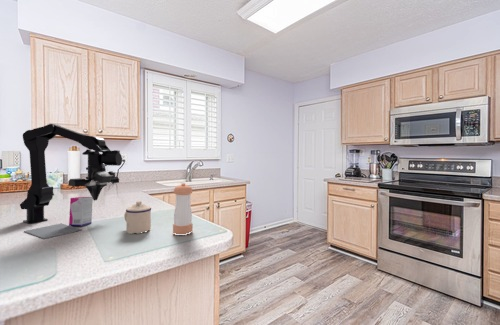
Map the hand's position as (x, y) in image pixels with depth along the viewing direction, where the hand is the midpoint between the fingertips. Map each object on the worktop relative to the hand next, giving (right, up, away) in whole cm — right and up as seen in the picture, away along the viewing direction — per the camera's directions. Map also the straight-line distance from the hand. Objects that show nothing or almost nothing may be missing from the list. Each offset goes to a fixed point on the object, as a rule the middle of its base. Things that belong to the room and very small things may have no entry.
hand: (95, 200), depth 105 cm
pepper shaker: (+43, -11, -13) cm, 46 cm away
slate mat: (-7, -10, -14) cm, 18 cm away
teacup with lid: (+23, -10, -11) cm, 28 cm away
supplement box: (-3, -10, -5) cm, 11 cm away
